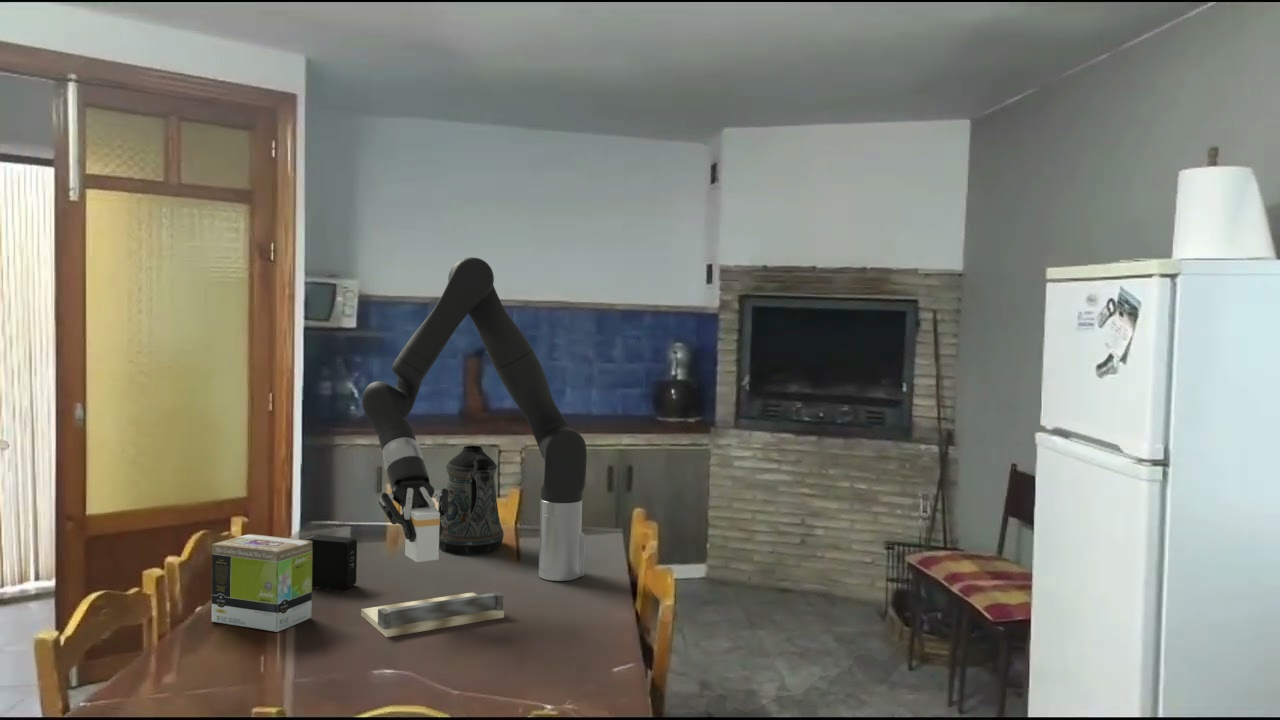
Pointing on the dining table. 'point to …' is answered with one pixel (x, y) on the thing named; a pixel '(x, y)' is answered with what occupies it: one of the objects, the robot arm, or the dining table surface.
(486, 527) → the beer stein
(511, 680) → the dining table surface
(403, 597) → the dining table surface
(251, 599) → the tea box
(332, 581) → the electronic device
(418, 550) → the module
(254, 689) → the dining table surface
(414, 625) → the mount board
